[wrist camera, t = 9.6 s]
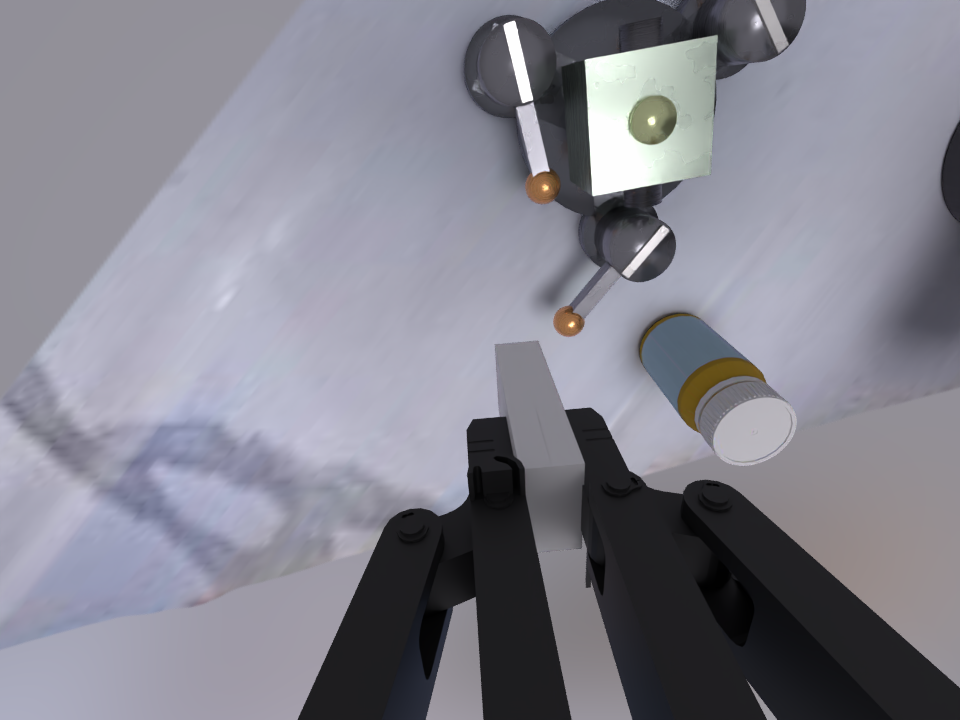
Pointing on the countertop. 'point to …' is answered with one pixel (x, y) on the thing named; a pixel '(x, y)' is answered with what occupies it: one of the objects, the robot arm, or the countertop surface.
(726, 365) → the bottle
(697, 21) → the foot screw
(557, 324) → the foot screw
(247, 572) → the countertop surface
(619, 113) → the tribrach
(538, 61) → the foot screw
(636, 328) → the countertop surface
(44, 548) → the countertop surface
